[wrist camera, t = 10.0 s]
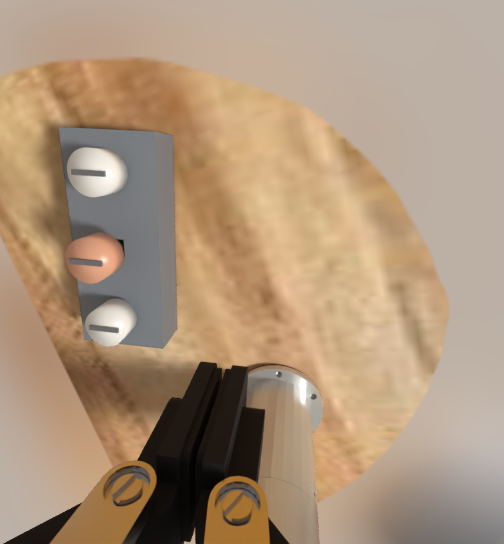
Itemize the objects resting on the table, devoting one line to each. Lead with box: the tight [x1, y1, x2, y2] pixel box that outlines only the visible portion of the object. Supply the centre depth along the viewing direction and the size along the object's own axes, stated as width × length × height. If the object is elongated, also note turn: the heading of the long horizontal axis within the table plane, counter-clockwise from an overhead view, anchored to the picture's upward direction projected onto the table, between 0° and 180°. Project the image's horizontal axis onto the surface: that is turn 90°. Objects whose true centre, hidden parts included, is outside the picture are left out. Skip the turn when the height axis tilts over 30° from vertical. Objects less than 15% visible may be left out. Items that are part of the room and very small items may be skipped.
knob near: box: [67, 147, 128, 197], centre depth 34 cm, size 4×4×6 cm
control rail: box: [59, 127, 177, 349], centre depth 39 cm, size 24×10×5 cm, turn 177°
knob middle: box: [65, 232, 124, 284], centre depth 34 cm, size 4×4×6 cm
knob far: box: [85, 299, 137, 346], centre depth 39 cm, size 4×4×6 cm
